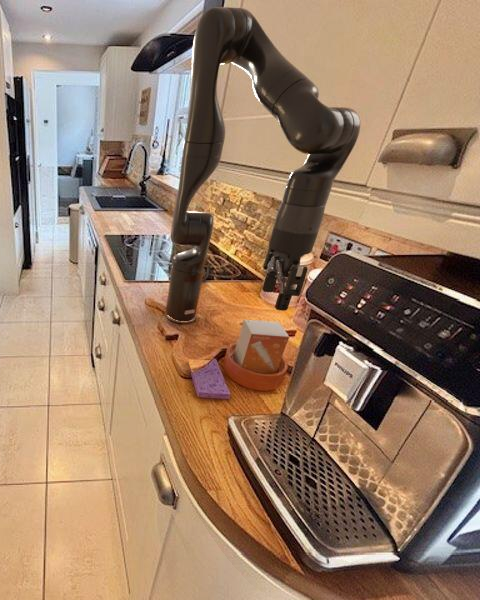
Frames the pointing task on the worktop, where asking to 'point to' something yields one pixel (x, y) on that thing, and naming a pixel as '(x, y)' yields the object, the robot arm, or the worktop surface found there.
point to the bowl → (253, 373)
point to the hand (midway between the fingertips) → (273, 300)
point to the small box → (260, 346)
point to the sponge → (210, 382)
